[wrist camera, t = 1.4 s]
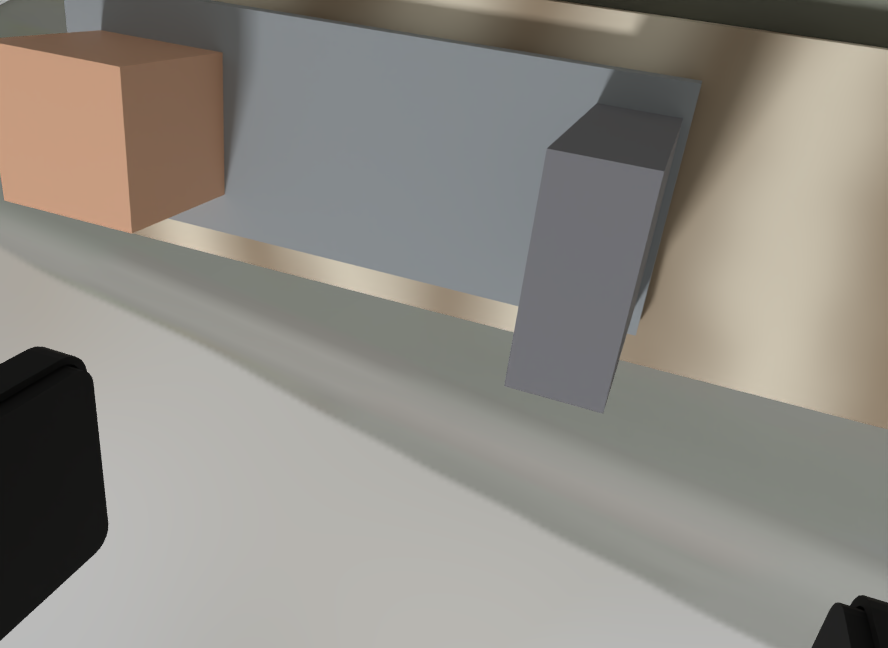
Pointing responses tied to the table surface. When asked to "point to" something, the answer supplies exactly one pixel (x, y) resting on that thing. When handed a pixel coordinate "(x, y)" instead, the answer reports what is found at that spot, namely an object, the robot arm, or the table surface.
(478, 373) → the table surface
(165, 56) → the cube
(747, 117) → the board
